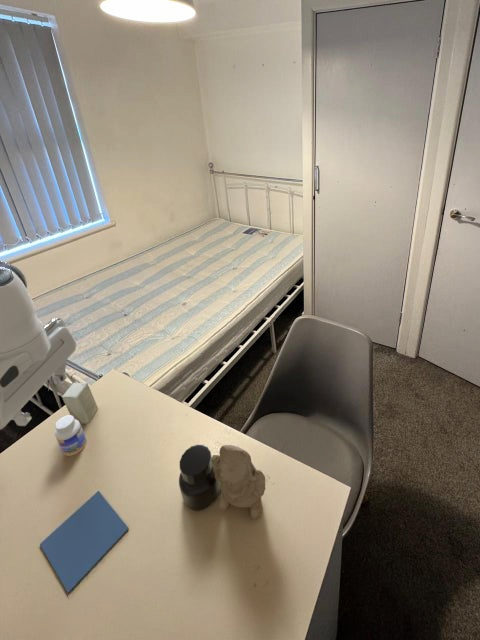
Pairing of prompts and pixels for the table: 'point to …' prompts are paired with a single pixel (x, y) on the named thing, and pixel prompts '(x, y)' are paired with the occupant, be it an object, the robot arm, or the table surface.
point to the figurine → (238, 480)
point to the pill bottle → (70, 435)
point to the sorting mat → (83, 540)
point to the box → (80, 402)
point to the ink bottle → (198, 478)
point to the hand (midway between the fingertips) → (44, 400)
